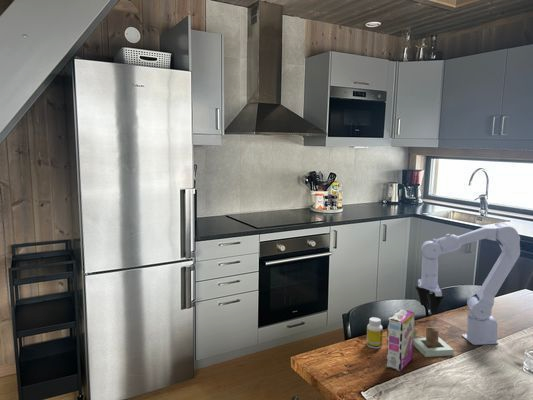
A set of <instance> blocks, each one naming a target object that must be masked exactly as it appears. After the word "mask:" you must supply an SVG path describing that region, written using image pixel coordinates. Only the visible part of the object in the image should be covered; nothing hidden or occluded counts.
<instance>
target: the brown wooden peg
mask: <svg viewBox="0 0 533 400" xmlns="http://www.w3.org/2000/svg"><path fill="white" fill-rule="evenodd" d="M425 331H426V333H425V338H426V345H425V346H426V347H427V348H439V347H438V337H439V335H440V334H439V329H437V328H435V327H427V328H426V329H425ZM439 338H440V337H439Z"/></svg>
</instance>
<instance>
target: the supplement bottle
mask: <svg viewBox="0 0 533 400" xmlns="http://www.w3.org/2000/svg"><path fill="white" fill-rule="evenodd" d="M368 322H369V323H368V324H367V326H366V345H367V347H368V348H371V349H380V348H382V347H383V325H382V320H381V318H379V317H373V316H372V317H370V318H369V321H368Z"/></svg>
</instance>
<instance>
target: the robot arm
mask: <svg viewBox="0 0 533 400" xmlns="http://www.w3.org/2000/svg"><path fill="white" fill-rule="evenodd" d="M480 240H490V241H495V242H497V243H498V245H499V248H500V249H501V253H500V255H499V256H498V258H497V260H496V261H495V263H494V265H493V266H492V268H491V270H490V272H489V273H488V275H487V277H485V279H484V281H483V283H482V285H481V286H480V288H479V289H476V291H475V292H474V293H473V294H472V295H471V296H470V295H469V297H468V298H467V301H466V305H467V307H468V308H469V311H468V312H467V317H466V322H467V323H466V333H462V334H461V336H462V337H463V338H464V339H465V340H466V341H468V342H469V343H471V344H472V345H473V346H474V345H475V346H481V345H482V346H483V345H495V344H499V342H498V321H497V320H496V318H495V317H494V316H493V315H492V313H493V312H492V309H493V307H494V305H495V304H494V303H495V297H496V296H497V293H498V292H499V290H500V289H501V287H502V285H503V283H504V282H505V280H506V278H507V277H508V275H509V274H510V272H511V270H512V269H513V268H514V266H515V264H516V262H517V260H518V259H519V258H520V255H521V246H520V245H521V243H520V241H521V237H520V234H519V232H518V231H517V229H516V228H515V227H513V226H509V225H508V224H506V223H505V222H497V223H495V224H493V223H492V224H488V225H485V226H482V227H479V228H477V229H475V230H472V231H469V232H466V233H463V234H461V235H456V234H450V233H447V234H445V236H443V237H440V238H432V240H426V241H424V242H423V243H422V245H421V247H420V250H421V252H422V257H421V271H420V272H421V277H420V278H419V279H417V285H416V286H415V290H416V291H417V295H418V298H419V303H420V305H421V306H427V305H428V303H429V310H430V313H431V314H436V313H438V310H439V306H440V304H441V301H442V300H444V297H445V295H444V294H443V291H442V290H441V289H440V286H439V282H438V281H439V279H438V278H439V259H438V258H439V256H440V255H444V254H447V253H451V252H455V251H457V250H460V248H461V246H462V245H466V244H469V243H473V242H477V241H478V242H479V241H480ZM430 292H431V293H430Z"/></svg>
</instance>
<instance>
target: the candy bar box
mask: <svg viewBox="0 0 533 400" xmlns="http://www.w3.org/2000/svg"><path fill="white" fill-rule="evenodd" d="M414 321H415V312H414V311H411V310H407V309H402V308H401V309H399V310H398V311H396V312H395V313H394V314H392V315H391V316H389V318H387V339H386V340H387V341H386V342H387V344H386V348H387V349H386V368H389V369H391V370H395V371H398V372H401V371H403V369H404V368H405V367H406V366H407V365H408V364H409V363H410V362H411V360H412V359H413V358H414V357H413V355H414V354H413V353H414V345H413V334H414Z"/></svg>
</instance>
